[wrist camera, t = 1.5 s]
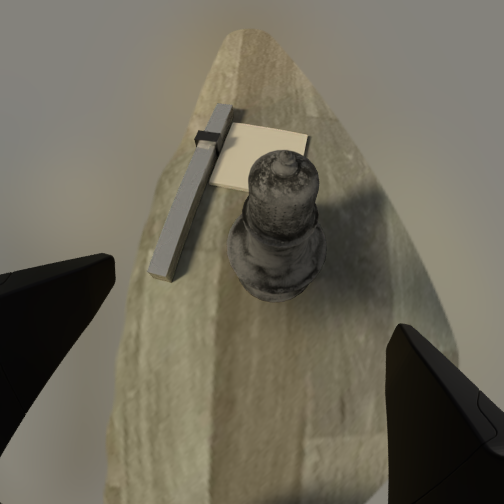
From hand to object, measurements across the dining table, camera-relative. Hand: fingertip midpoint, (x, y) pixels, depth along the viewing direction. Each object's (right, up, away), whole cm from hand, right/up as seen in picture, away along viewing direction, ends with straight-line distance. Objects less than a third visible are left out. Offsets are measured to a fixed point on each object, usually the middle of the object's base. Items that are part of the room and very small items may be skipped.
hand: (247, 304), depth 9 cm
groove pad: (+1, +9, +16) cm, 18 cm away
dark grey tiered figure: (+2, +1, +13) cm, 13 cm away
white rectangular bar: (-4, +7, +15) cm, 17 cm away
